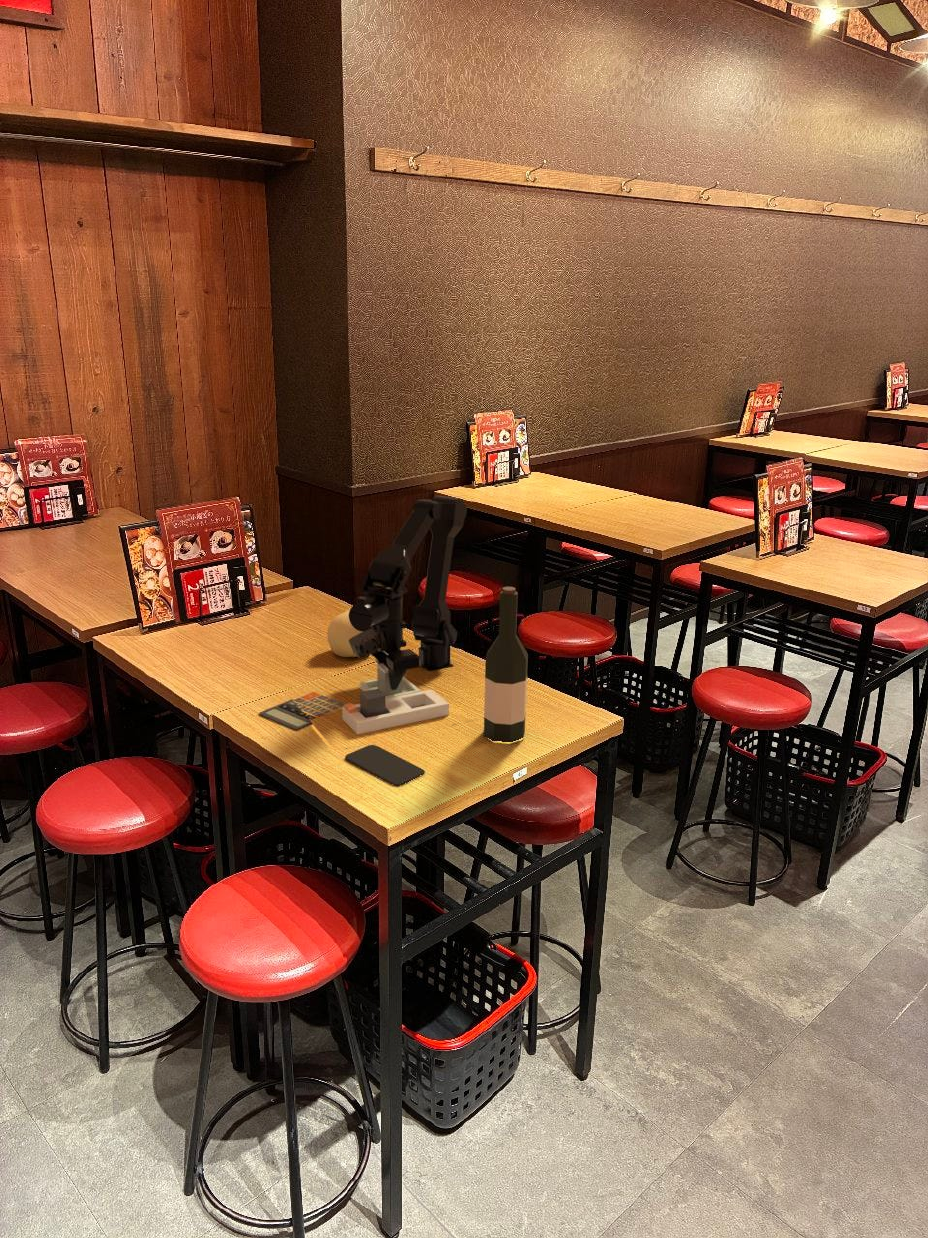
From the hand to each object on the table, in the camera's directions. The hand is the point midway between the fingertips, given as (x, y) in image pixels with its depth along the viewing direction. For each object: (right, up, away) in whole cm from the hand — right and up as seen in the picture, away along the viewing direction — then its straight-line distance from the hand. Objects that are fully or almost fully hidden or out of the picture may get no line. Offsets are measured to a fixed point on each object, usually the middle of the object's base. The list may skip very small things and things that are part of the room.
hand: (389, 686), depth 194 cm
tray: (0, -2, +1) cm, 2 cm away
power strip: (+2, -6, -11) cm, 13 cm away
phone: (+1, -13, -30) cm, 32 cm away
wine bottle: (+24, -8, -17) cm, 31 cm away
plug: (0, -1, 0) cm, 1 cm away
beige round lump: (-11, +6, +23) cm, 26 cm away
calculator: (-17, -5, -8) cm, 19 cm away
